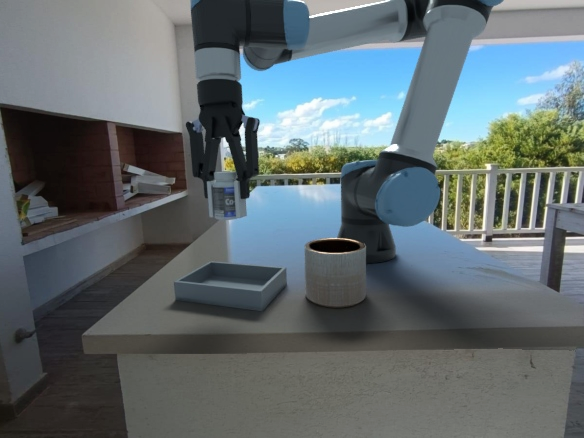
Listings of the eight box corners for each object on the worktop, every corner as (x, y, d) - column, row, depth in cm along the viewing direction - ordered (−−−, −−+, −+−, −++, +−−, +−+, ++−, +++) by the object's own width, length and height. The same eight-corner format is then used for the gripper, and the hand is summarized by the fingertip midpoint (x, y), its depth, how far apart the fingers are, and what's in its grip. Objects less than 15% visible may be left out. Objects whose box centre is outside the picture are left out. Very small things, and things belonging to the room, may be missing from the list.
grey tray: (286, 284, 67) (286, 267, 66) (262, 311, 55) (261, 291, 55) (211, 276, 72) (210, 261, 72) (175, 299, 61) (173, 281, 60)
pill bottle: (228, 221, 58) (225, 172, 57) (209, 219, 61) (206, 172, 59) (246, 216, 62) (244, 171, 61) (227, 215, 65) (224, 171, 63)
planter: (363, 312, 54) (364, 255, 52) (298, 306, 57) (297, 252, 55) (367, 287, 64) (368, 238, 62) (312, 282, 67) (311, 236, 65)
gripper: (276, 80, 58) (280, 214, 62) (188, 90, 63) (198, 211, 68) (257, 71, 51) (264, 222, 55) (161, 82, 56) (174, 218, 61)
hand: (228, 216), depth 61 cm, fingers closed on pill bottle, 5 cm apart
